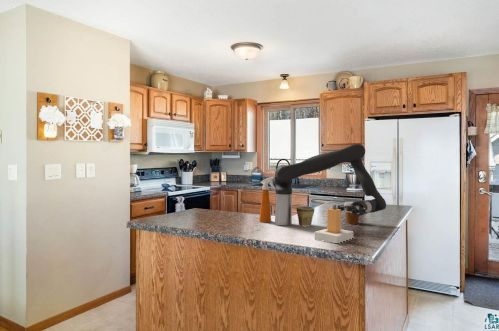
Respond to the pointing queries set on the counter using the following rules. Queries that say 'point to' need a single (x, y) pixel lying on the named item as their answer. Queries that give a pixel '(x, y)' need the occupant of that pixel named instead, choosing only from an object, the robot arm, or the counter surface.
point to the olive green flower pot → (305, 215)
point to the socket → (334, 236)
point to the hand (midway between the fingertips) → (344, 210)
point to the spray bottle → (265, 200)
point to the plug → (334, 220)
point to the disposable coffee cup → (351, 215)
